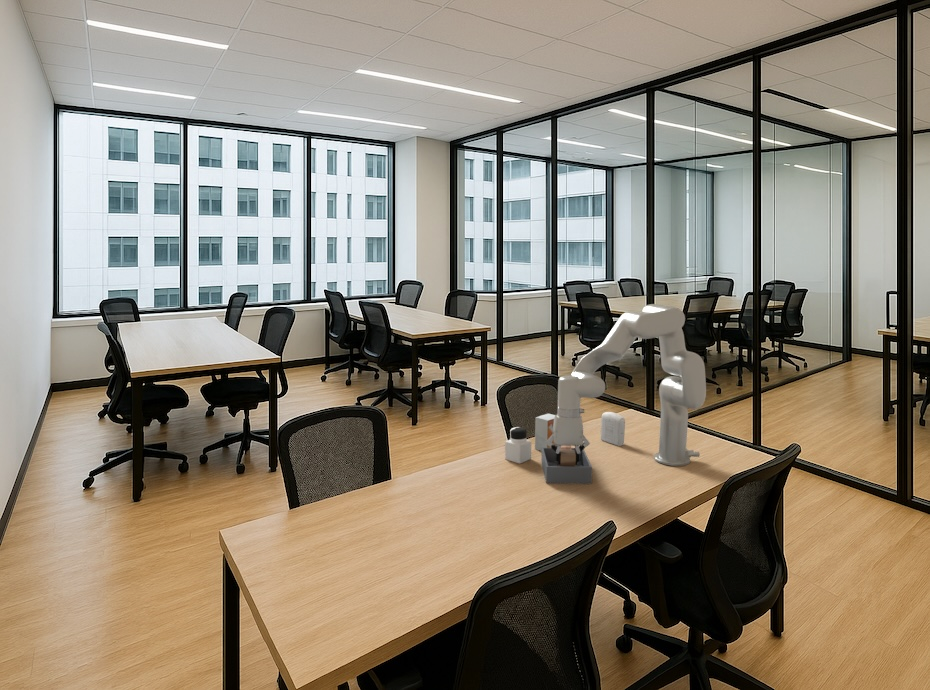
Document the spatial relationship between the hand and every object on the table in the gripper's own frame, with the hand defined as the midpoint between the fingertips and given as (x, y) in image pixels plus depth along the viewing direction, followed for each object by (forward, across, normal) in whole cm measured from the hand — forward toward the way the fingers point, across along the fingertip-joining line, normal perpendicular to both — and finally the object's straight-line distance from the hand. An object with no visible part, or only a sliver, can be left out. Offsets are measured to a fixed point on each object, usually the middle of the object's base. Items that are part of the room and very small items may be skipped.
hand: (567, 462), depth 208 cm
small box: (+6, +4, -30) cm, 31 cm away
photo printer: (+6, -23, -38) cm, 45 cm away
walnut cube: (+1, 0, 0) cm, 1 cm away
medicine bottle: (+6, +16, -18) cm, 25 cm away
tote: (+6, 0, -5) cm, 8 cm away
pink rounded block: (+5, 0, -10) cm, 11 cm away
